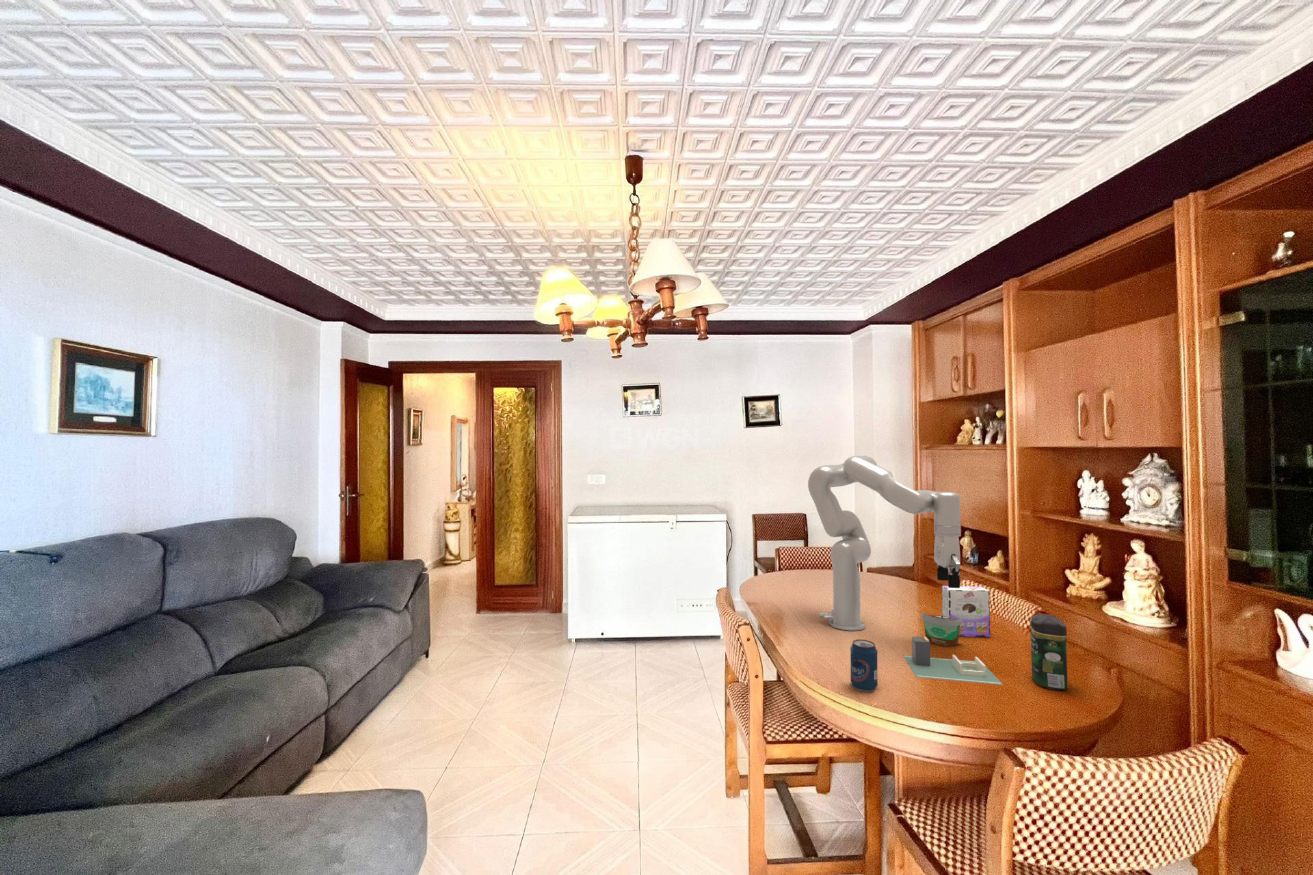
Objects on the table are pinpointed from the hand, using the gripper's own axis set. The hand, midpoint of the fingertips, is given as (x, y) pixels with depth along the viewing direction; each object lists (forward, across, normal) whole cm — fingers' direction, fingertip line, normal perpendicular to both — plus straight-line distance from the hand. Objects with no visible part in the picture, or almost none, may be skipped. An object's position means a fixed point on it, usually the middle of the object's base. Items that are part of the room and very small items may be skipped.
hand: (948, 583), depth 170 cm
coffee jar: (+23, +18, +20) cm, 35 cm away
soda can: (+22, +30, -32) cm, 49 cm away
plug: (+21, +13, -12) cm, 27 cm away
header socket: (+21, +16, 0) cm, 27 cm away
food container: (+22, -6, 0) cm, 23 cm away
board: (+22, +16, -5) cm, 28 cm away
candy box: (+22, -20, +12) cm, 33 cm away
